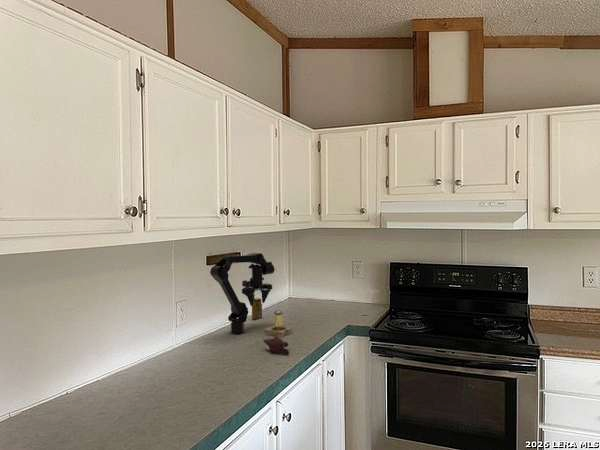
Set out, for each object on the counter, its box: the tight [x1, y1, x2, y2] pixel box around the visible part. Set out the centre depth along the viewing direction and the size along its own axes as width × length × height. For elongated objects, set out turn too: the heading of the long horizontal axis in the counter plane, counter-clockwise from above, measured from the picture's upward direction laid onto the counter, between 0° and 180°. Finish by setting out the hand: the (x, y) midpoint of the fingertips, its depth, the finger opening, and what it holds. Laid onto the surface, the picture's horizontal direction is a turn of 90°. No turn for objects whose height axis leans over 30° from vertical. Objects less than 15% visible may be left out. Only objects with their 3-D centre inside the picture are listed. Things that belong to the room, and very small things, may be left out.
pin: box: [273, 310, 284, 331], centre depth 219 cm, size 4×4×12 cm
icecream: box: [262, 336, 290, 355], centre depth 191 cm, size 7×7×15 cm
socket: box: [264, 325, 293, 338], centre depth 219 cm, size 10×10×3 cm
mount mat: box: [261, 325, 275, 331], centre depth 228 cm, size 9×9×1 cm
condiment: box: [248, 297, 263, 321], centre depth 252 cm, size 7×8×12 cm
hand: (257, 304), depth 232 cm, fingers open, 9 cm apart
